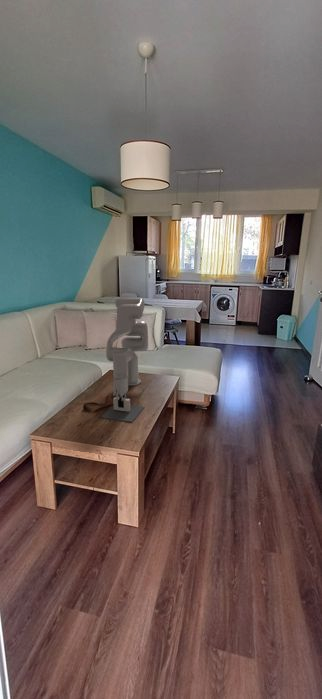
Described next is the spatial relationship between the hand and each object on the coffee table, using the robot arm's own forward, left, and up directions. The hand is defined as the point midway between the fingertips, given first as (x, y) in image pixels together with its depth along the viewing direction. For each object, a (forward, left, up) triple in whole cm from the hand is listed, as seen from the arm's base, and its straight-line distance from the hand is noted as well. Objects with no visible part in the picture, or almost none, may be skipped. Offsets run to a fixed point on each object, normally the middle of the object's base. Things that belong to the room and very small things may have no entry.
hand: (122, 406), depth 179 cm
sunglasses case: (-3, -15, -4) cm, 16 cm away
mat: (+1, +1, -3) cm, 4 cm away
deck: (0, 0, -2) cm, 2 cm away
